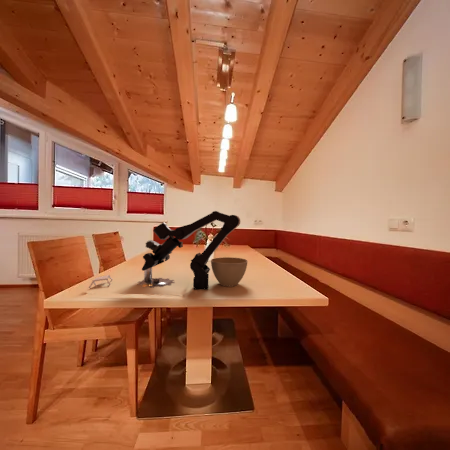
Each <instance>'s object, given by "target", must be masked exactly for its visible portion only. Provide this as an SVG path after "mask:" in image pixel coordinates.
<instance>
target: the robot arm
mask: <svg viewBox="0 0 450 450" xmlns="http://www.w3.org/2000/svg"><path fill="white" fill-rule="evenodd" d="M216 221H219V222H221V223H223V225H222V227H221V229H220V231H219V232H218V233H217V234H216V236H215V237H214V238H213V240H211V241H210V243H209V244H208V245H207V247H206V248H205V249H204V250H203V251H202V252H197V253H196V254H194V257H193V258H192V259H191V260H190V264H189V268H190V270H191V272H193V275H194V276H193V283H192V285H193V290H209V280H210V279H209V273H210V270H211V269H210V267H209V266H208V262H209V260H210V258H211V256H212V255H213V254H214V253H215V252H216V250H217V249H218V247H219V246H220V245H221V244H222V243H223V242H224V241H225V239H226V238H227V237H228V235H229V234H230V233H232V232H233V231H235V229H236V228H238V227H239V226H240V224H241V218H240V217H239V216H238V215H235V214H231V215H229V214H225V213H222V212H220V211H218V210H214V211H212V212H211V213H209V214H207V215H205V216H204V217H201V218H199V219H198V220H196V221H194V222H191V223H190V224H186V225H183V226H182V225H181V226H179V227H176V228H175V229H171V228H170V227H169V226H168V225H167V223H166V222H164V221H163V222H161V223H160V224H159V225H157V226H155V227H154V228H153V230H152V231H153V233H154V234H155V235H156V236H157V237H158V238H159V240H161V241H162V240H163V241H164V242H163V243H161V244H160V243H159V242H157V241H154V240H153V239H149V240H148V241H146V242H145V248H146V249H149V250H152V251H151V252H147V253H145V254H144V255H143V256H142V259H143V260H144V263H145V264H143V266H142V267H141V271H142V272H143V271H144V270H146V269H149V268H151V267H152V268H153V267H156V266H158V265H162V264H163V263H165V262H167V261H168V260H170V259H171V258H170V257H171V254H172V253H173V251H174V250H175V249H176V248H177V247H178V248H179V249H181V248H183V243H184V242H183V241H181V240H185V239H188V238H189V237H190V236H191V235H193V234H194V233H195V232H196V231H199V230H200V229H203V228H204V227H206V226H207V225H209V224H212V223H213V222H216ZM145 261H146V262H145Z"/></svg>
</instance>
